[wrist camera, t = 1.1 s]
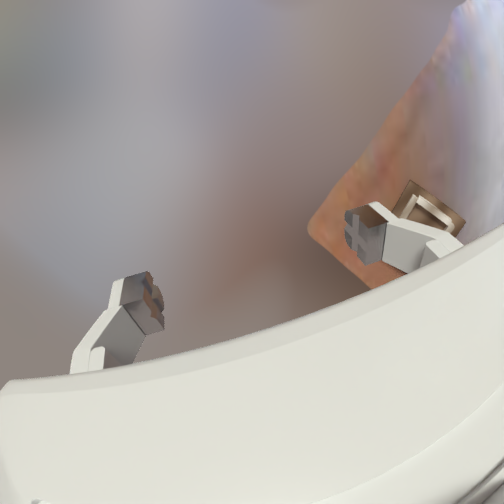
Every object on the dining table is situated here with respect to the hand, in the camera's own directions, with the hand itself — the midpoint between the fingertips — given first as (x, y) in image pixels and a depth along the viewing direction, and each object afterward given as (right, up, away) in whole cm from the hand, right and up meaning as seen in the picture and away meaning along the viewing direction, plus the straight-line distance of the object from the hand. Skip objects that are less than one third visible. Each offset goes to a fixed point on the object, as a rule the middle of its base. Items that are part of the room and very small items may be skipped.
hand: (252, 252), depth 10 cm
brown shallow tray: (+33, +4, +36) cm, 49 cm away
